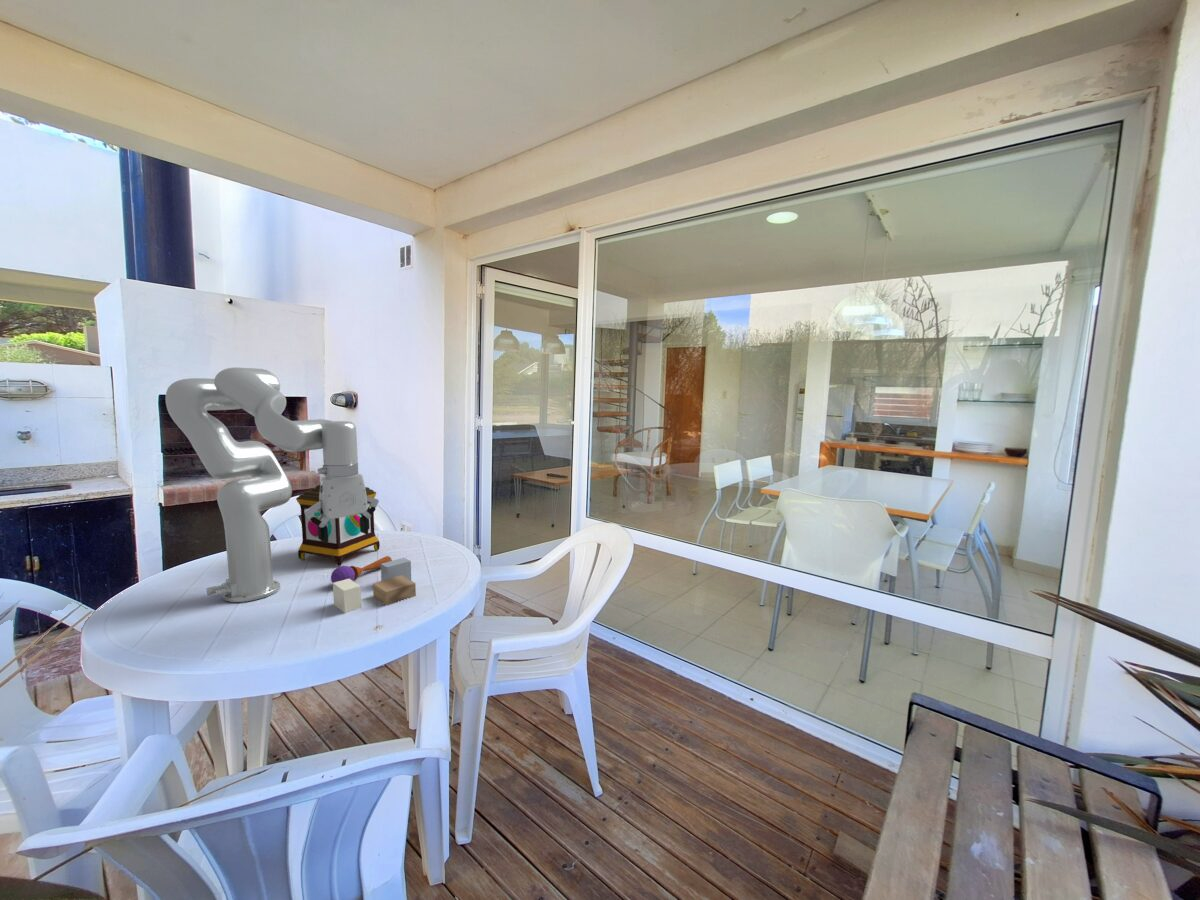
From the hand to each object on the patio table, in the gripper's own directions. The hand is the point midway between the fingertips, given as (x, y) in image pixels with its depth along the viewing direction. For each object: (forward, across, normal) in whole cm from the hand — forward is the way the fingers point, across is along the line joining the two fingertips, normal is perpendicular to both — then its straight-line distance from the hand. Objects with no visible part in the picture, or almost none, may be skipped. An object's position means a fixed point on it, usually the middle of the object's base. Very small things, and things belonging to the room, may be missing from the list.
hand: (345, 537), depth 120 cm
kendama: (+19, +11, +17) cm, 28 cm away
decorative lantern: (+19, +14, +41) cm, 47 cm away
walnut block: (+19, +11, -3) cm, 22 cm away
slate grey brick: (+19, +16, +6) cm, 25 cm away
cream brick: (+19, 0, 0) cm, 19 cm away
